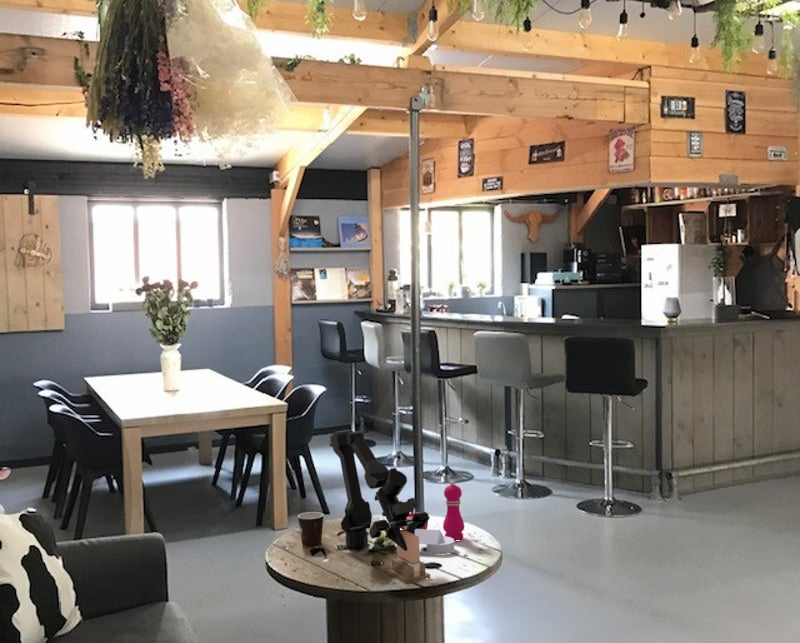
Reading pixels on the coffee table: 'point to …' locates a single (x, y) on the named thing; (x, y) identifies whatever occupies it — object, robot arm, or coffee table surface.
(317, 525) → the coffee mug
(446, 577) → the coffee table surface
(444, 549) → the wedge on round base
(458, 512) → the pepper mill
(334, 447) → the robot arm
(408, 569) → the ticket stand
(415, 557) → the peach rectangular panel
